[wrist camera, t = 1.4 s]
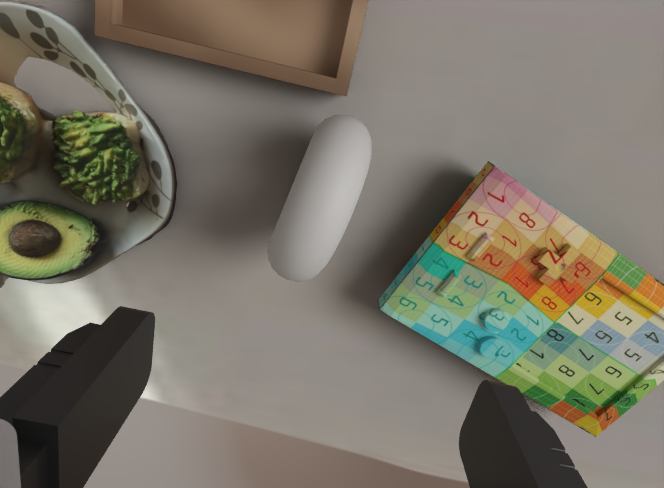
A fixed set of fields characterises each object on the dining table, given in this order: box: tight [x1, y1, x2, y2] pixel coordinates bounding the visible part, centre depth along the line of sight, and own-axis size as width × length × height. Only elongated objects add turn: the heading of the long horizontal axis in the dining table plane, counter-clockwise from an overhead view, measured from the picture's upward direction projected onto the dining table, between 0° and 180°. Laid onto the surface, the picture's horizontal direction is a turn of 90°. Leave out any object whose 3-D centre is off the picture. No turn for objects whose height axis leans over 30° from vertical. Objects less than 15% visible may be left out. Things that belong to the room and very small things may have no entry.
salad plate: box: [0, 0, 177, 288], centre depth 28 cm, size 19×18×5 cm
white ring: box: [268, 115, 372, 282], centre depth 25 cm, size 10×4×10 cm, turn 157°
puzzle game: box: [378, 161, 664, 437], centre depth 31 cm, size 12×5×20 cm
